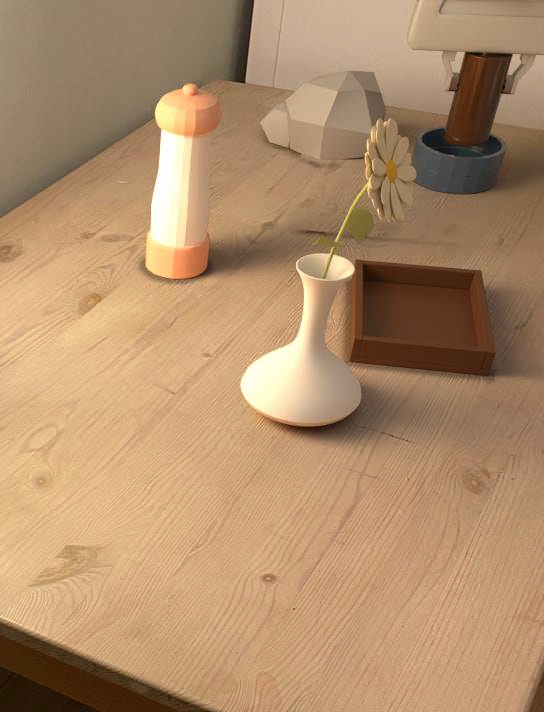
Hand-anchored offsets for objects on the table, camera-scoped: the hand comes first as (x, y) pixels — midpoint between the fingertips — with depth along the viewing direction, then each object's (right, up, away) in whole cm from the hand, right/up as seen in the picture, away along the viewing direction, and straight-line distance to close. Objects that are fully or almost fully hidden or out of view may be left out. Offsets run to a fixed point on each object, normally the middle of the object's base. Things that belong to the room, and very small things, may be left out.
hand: (478, 91), depth 119 cm
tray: (-15, -35, -17) cm, 42 cm away
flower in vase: (-29, -46, -27) cm, 61 cm away
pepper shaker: (-39, -25, -7) cm, 47 cm away
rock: (-13, +4, +19) cm, 23 cm away
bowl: (0, -7, +8) cm, 11 cm away
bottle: (0, -4, +4) cm, 6 cm away
